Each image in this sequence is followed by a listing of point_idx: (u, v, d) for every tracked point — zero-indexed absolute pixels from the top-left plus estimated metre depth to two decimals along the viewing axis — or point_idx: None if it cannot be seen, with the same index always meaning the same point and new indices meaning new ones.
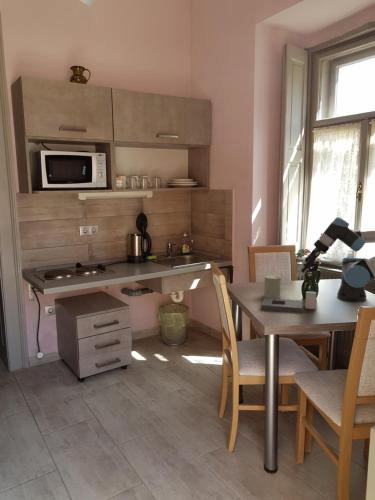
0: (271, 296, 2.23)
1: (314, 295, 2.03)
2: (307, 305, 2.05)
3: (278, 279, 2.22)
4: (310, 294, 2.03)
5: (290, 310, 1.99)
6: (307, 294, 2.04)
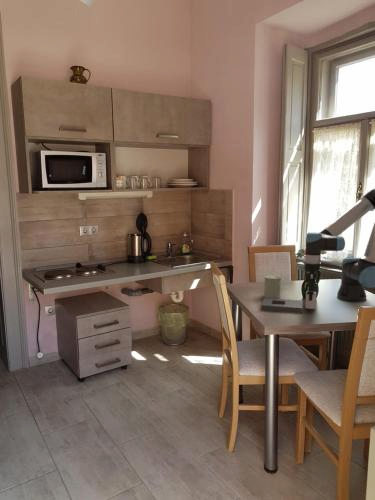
0: (271, 296, 2.23)
1: (314, 295, 2.03)
2: None
3: (278, 279, 2.22)
4: None
5: (290, 310, 1.99)
6: (307, 294, 2.04)
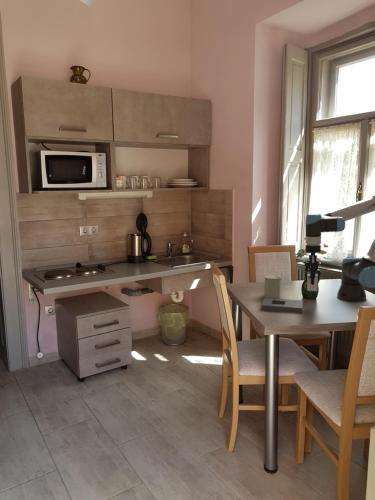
0: (271, 296, 2.23)
1: (315, 277, 2.02)
2: (309, 287, 2.03)
3: (278, 279, 2.22)
4: None
5: (290, 310, 1.99)
6: (308, 276, 2.03)
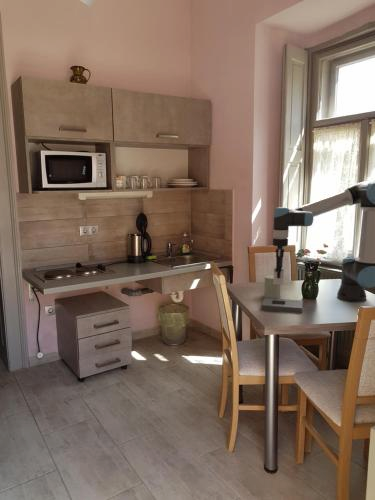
0: (271, 296, 2.23)
1: (282, 271, 2.02)
2: (275, 281, 2.04)
3: None
4: None
5: (290, 310, 1.99)
6: None
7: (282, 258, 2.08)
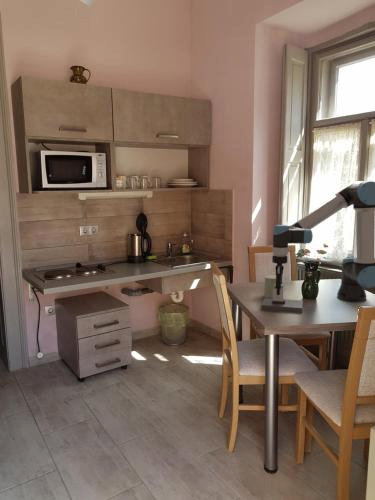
0: (271, 296, 2.23)
1: (281, 287, 2.03)
2: (274, 297, 2.05)
3: None
4: None
5: (290, 310, 1.99)
6: (274, 286, 2.04)
7: None
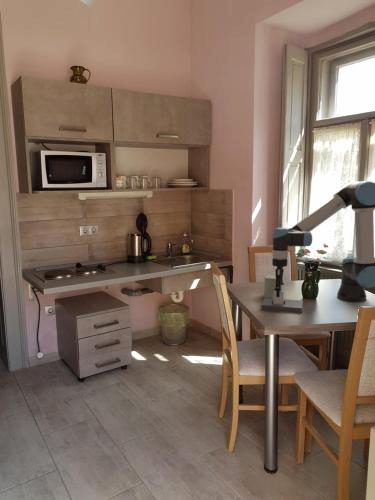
0: (271, 296, 2.23)
1: (281, 294, 2.04)
2: None
3: None
4: None
5: (290, 310, 1.99)
6: (274, 293, 2.05)
7: None
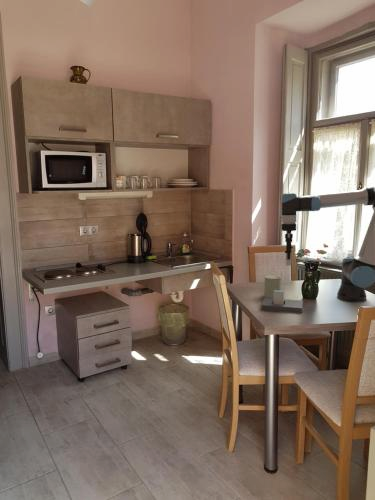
0: (271, 296, 2.23)
1: (281, 294, 2.04)
2: None
3: (278, 279, 2.22)
4: (277, 293, 2.04)
5: (290, 310, 1.99)
6: (274, 293, 2.05)
7: None
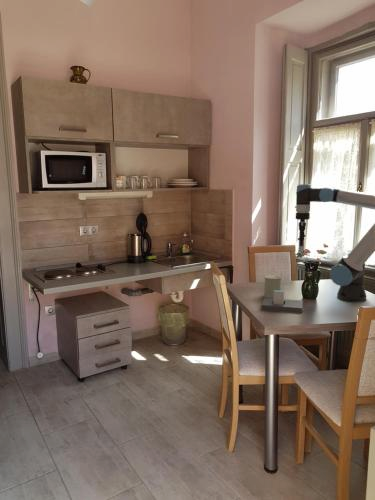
0: (271, 296, 2.23)
1: (281, 294, 2.04)
2: None
3: (278, 279, 2.22)
4: (277, 293, 2.04)
5: (290, 310, 1.99)
6: (274, 293, 2.05)
7: None
